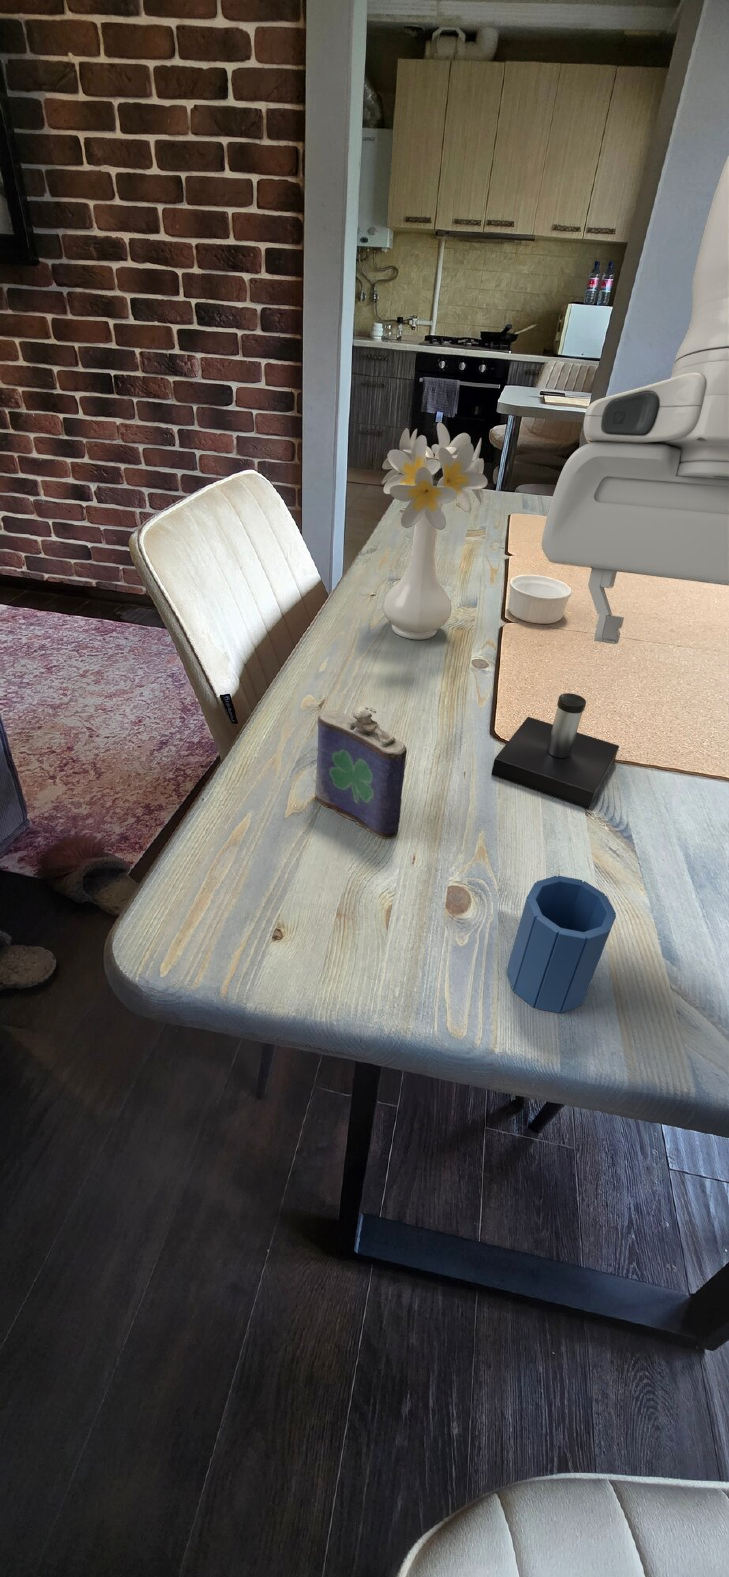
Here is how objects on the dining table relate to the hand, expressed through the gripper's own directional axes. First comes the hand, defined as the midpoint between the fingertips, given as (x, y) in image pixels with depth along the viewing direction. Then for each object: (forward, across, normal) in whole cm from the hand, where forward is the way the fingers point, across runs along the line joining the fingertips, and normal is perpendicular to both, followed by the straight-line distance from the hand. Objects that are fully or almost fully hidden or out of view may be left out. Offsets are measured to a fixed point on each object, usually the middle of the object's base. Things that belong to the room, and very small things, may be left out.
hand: (679, 654), depth 48 cm
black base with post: (+15, +9, -22) cm, 28 cm away
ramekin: (+2, +22, -58) cm, 62 cm away
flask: (+19, +24, -5) cm, 31 cm away
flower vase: (+6, +34, -43) cm, 55 cm away
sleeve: (+24, +3, +4) cm, 24 cm away
